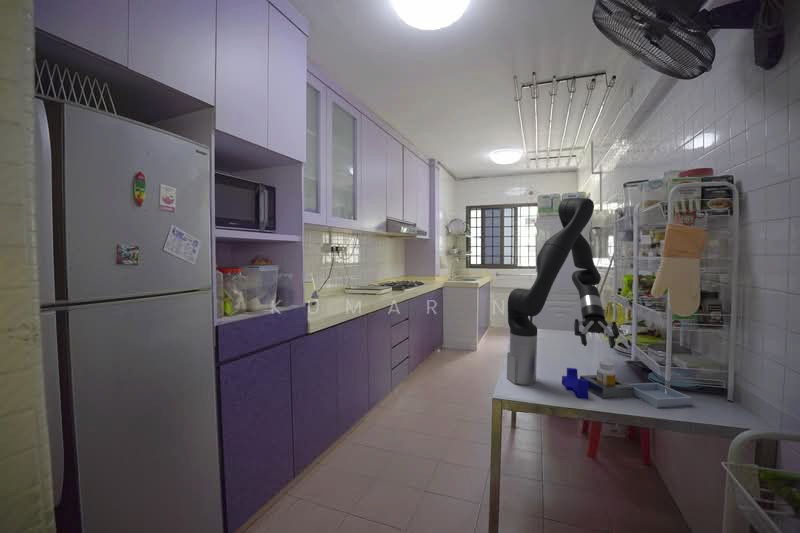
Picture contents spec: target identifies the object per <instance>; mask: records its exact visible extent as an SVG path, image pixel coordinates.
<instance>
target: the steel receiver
mask: <svg viewBox="0 0 800 533" xmlns="http://www.w3.org/2000/svg"><path fill="white" fill-rule="evenodd" d="M579 379H587V380H588V392H589V393H591V394H593V395H595V396H597V397H598V398H600V399H602V400H612V399H614V400H616V399H633V398H632V397H635V396H634V387H633V386H631V385H629V384H630V383H627V382H625V381H623V380H621V379H618V378H616V379H615V385H603V384H601V383H599V382H597V374H592V375H591V374H589V375H587V374H586V375H579Z"/></svg>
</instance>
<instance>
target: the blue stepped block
mask: <svg viewBox="0 0 800 533" xmlns="http://www.w3.org/2000/svg"><path fill="white" fill-rule="evenodd" d="M578 376H579V375H578V369H577V368H575V367H566V375H561V384H562V386H563V387H564V388H565V390H566V391H571V392H572V394H574V395H575V397H576V398H577V399H581V400H582V399H583V400H588V399H589V391H588V380H587V379H580V378H579V377H578Z"/></svg>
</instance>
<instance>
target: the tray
mask: <svg viewBox="0 0 800 533" xmlns="http://www.w3.org/2000/svg"><path fill="white" fill-rule="evenodd" d="M628 384H629V385H631V386H633V387H634V397H635V398H637V399H638V398H639V399H638V400H640V399H642V400H643V401H642V400H641V401H642V402H644V401H645V403H646V402H647V403H646V404H648V403H649V404H648V405H650V404H651V405H650V406H652V405H653V406H652V407H654V406H655V407H654V408H656V409H662V408H663V407H664V408H665V407H667V408H681V407H682V406H684V407H692V406H693V397H691V396H689V395H687V394H685V393H682V392H679V391H678V390H675V389H673V388H671V387H669V386H666V387H665V385H664V384H661V383H659V382H644V383H643V382H642V383H628ZM665 389H666V391H667V394H665V393H664V392H665ZM664 408H663V409H664Z"/></svg>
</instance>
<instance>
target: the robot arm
mask: <svg viewBox="0 0 800 533" xmlns="http://www.w3.org/2000/svg"><path fill="white" fill-rule="evenodd" d="M594 207H595V204H594V201H593V200H592V199H591V198H587V197H573V198H572V197H571V198H564V199H562V200H561V201H560V203H559V205H558V208H557V209H558V210H557V211H558V217H559V220H560V223H561V225H562V229H561V230H559V231H558V232H557V233H554V234H553V235H552V236H550V238H548V239H547V240H546V241H545V242H544V244H543V246H542V247H541V248H540V250H539V252H538V254H537V257H536V270H537V275H536V278H535V281H534V283H532V284H533V285H532V286H531V287H530V289H525V288H514V289H513V290H511V291H510V293H509V295H508V299H507V323H508V326H509V335H510V336H509V352H507V355H506V378H507V379H508V380H509V381H510V382H511V383H513V384H514V385H523V386H530V385H531V386H532V385H534V384H536V383H537V363H538V362H537V356H538V354H537V353H538V327H537V325H535V324H534V322H532V321H531V320H530V318H529V317H536V316H538V315H539V314H540V313H541V312H542V310H543V309H544V306H545V304H546V301H547V299H548V297H549V294H550V291H551V289H552V286H553V284H554V283H555V281H556V278H557V277H558V274H559V273H560V270H562V267H563V266H564V264H565V261H566V260H567V258H568V256H569V254H570V252H571V256H572V260H573V264H574V267H576V268H577V269H579V270H575V271H573V273H572V274H571V280H572V283H573V285H574V286H575V288H576V290H577V292H578V295H579V301H580V305H579V306H580V311H581V312H580V313H581V317H582V320H579V319H578V318H575V319H574V323H573V327H574V328H573V329H574V330H573V331H574V335H575V336H577V337H578V336H579V337H580V342H581V345H583V346H584V347H587V345H588V341H587V336H586V335H587V334H588V333H591V334H595V333H596V334H602V335H603V336H605V337H606V338H608V344H609V348H610V349H614V347H615V346H616V341H615V340H617V339H619V336H620V332H619V328H618V325H617V323H616V321H612V322H608V321H607V320H606V316H605V312H604V307H603V303H602V300H601V296H600V291H599V289H598V287H596V286H598V285H599V284H600V283H601V279H602V276H601V274H600V272H599V270H598V269H597V267H596V265H595V263H594V258H593V252H592V249H591V245H590V244H589V242H588V240H587V239H586V238H585V236H583V234H582V232H583V230H584V229H585V228H586V226H587V225H588V223H589V222H590V220H591V218H592V216H593V214H594V211H595V208H594ZM581 325H582V327H584V329H582V330H581V331H580V327H581Z"/></svg>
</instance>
